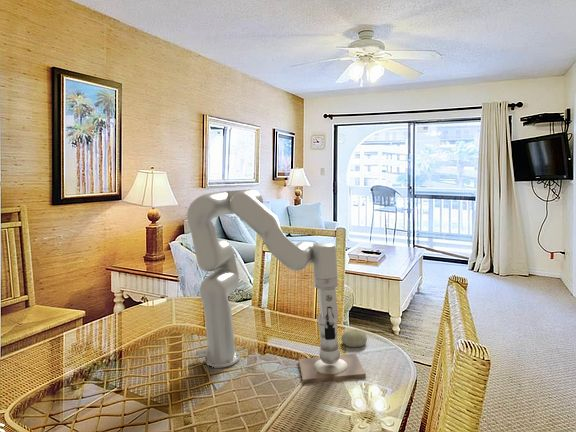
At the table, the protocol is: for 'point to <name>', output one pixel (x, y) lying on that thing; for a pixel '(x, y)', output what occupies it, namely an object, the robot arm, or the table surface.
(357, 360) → the walnut board
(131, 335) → the table surface
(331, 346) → the plastic bottle
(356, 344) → the sea urchin shell
